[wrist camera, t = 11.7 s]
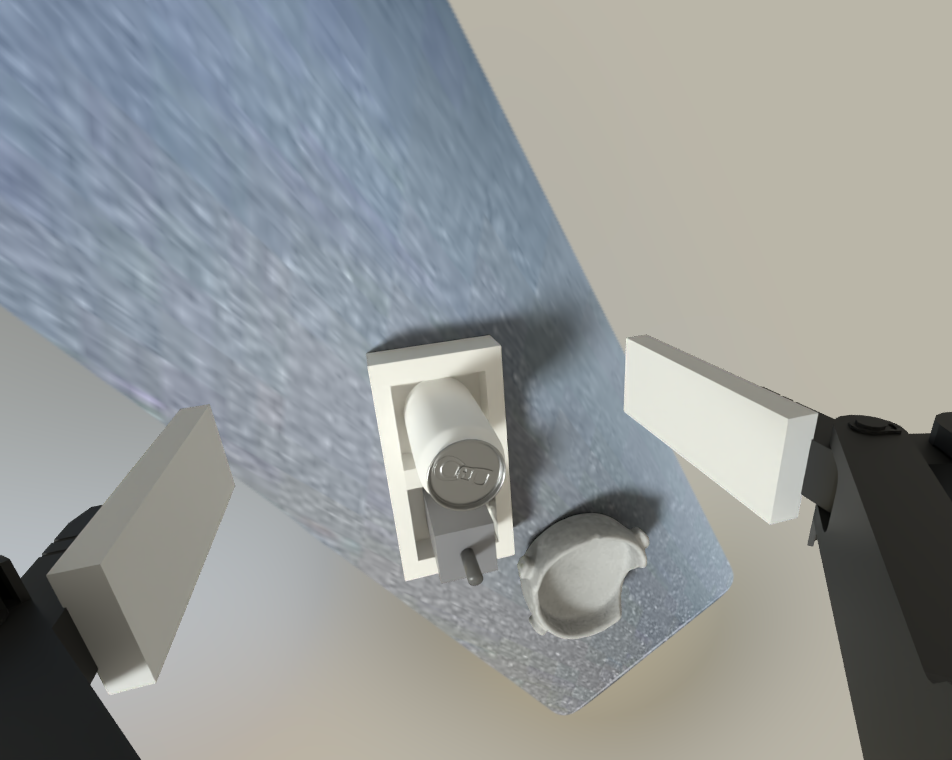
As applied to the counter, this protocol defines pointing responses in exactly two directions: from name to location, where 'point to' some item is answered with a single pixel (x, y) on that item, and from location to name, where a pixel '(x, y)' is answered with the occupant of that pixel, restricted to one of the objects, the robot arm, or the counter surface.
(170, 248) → the counter surface
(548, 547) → the dish
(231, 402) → the counter surface
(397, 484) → the white flat tray
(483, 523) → the seated block
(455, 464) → the can
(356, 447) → the counter surface
